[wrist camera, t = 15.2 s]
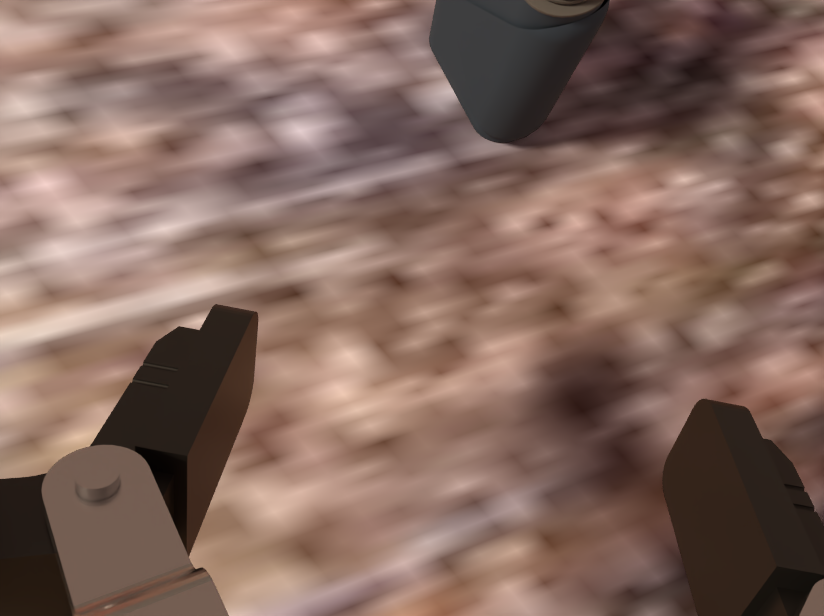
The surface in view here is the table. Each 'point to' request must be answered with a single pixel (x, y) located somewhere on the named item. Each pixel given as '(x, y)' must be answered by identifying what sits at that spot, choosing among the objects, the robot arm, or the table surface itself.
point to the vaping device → (511, 57)
